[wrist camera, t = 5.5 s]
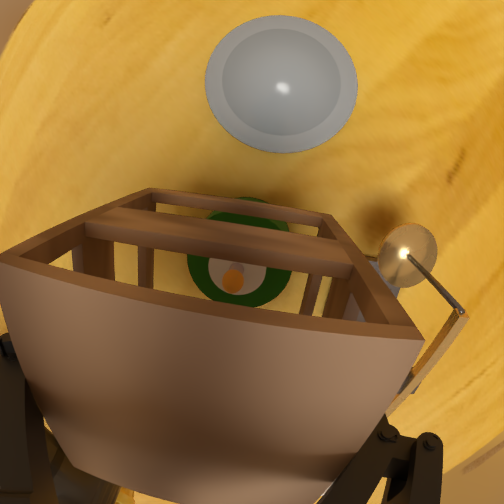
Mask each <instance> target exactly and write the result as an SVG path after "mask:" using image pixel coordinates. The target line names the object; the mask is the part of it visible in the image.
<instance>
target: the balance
mask: <svg viewBox="0 0 504 504" xmlns="http://www.w3.org/2000/svg"><path fill="white" fill-rule="evenodd" d="M365 257H366V259H367V260H368V261H369V262H370V264H371V265H372V266H373V268H374V269H375V270H376V272H377V273H378V274H379V276H380V277H381V278H382V280H383V281H384V282H385V284H386V285H387V286H388V288H389V289H390V290H391V292H392V293H393V294H394V296H395V297H396V298H397V295H398V293H399V290H400V288H407V287H411V286H414V285H416V284H418V283H420V282H421V281H423V280H424V279H425V278H426V279H427V280H428V281H429V282H430V283H431V284H432V285H433V286H434V287H435V288H436V289H437V290H438V292H439V293H440V294H441V295H442V296H443V297H444V298H445V299H446V300H447V302H448V303H449V304H450V305H451V306H452V307H453V308H454V310H453V312H452V313H451V315H450V316H449V318H448V320H447V321H446V323H445V324H444V326H443V327H442V329H441V330H440V332H439V333H438V335H437V336H436V337H435V339H434V340H433V342H432V343H431V345H430V346H429V347H428V349H427V350H426V351H425V353H424V354H423V356H422V357H421V358H420V360H419V361H418V362H417V363H416V365H415V366H414V367H412V368H411V370H410V371H409V373H408V375H407V377H406V379H405V380H404V382H403V384H402V386H401V387H400V389H399V391H398V392H397V394H396V396H395V397H394V399H393V401H392V402H391V404H390V406H389V407H388V409H387V410H386V412H385V414H386V417H388V416H389V415H390V414H391V413H392V412H393V411H394V410H395V409H396V408H397V407H398V406H399V405H400V404H401V403H402V402H403V401H404V400H405V399H406V398H407V397H408V396H409V395H410V394H414V392H415V391H416V389H417V388H418V386H419V385H420V383H421V381H422V380H423V379H424V378H425V377H426V375H427V374H428V373H429V372H430V371H431V369H432V368H433V367H434V366H435V364H436V363H437V362H438V361H439V359H440V358H441V357H442V356H443V354H444V353H445V352H446V350H447V349H448V348H449V346H450V345H451V344H452V342H453V341H454V340H455V338H456V337H457V336H458V334H459V333H460V331H461V330H462V328H463V327H464V326H465V324H466V323H467V321H468V320H469V316H468V314H467V312H466V310H465V309H463V308H462V307H461V306H460V304H459V303H458V302H457V301H456V300H455V299H454V298H453V297H452V296H451V295H450V294H449V293H448V292H447V290H446V289H445V288H444V287H443V286H442V285H441V284H440V283H439V282H438V281H437V280H436V279H435V278H434V277H433V276H432V275H431V274H430V272H431V271H432V269H433V267H434V265H435V262H436V259H437V244H436V241H435V238H434V236H433V235H432V233H431V232H430V231H429V230H427V229H426V228H425V227H423V226H421V225H419V224H416V223H405V224H401V225H399V226H397V227H395V228H394V229H392V230H391V231H390V232H389V233H388V234H387V235H386V236H385V238H384V239H383V241H382V243H381V245H380V247H379V251H378V257H377V258H374V257H368V256H365ZM356 321H358V322H366V321H365V319H364V317H363V315H362V313H361V311H360V312H359V314H358V317H357V320H356Z"/></svg>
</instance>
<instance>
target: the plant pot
mask: <svg viewBox="0 0 504 504" xmlns="http://www.w3.org/2000/svg"><path fill="white" fill-rule="evenodd" d="M133 497H134V491H133V490H130V489H127V488H124V487H121V489H120V492H119V494H118V497H117V499H116V502H115V504H135V501H134V499H133Z"/></svg>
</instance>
